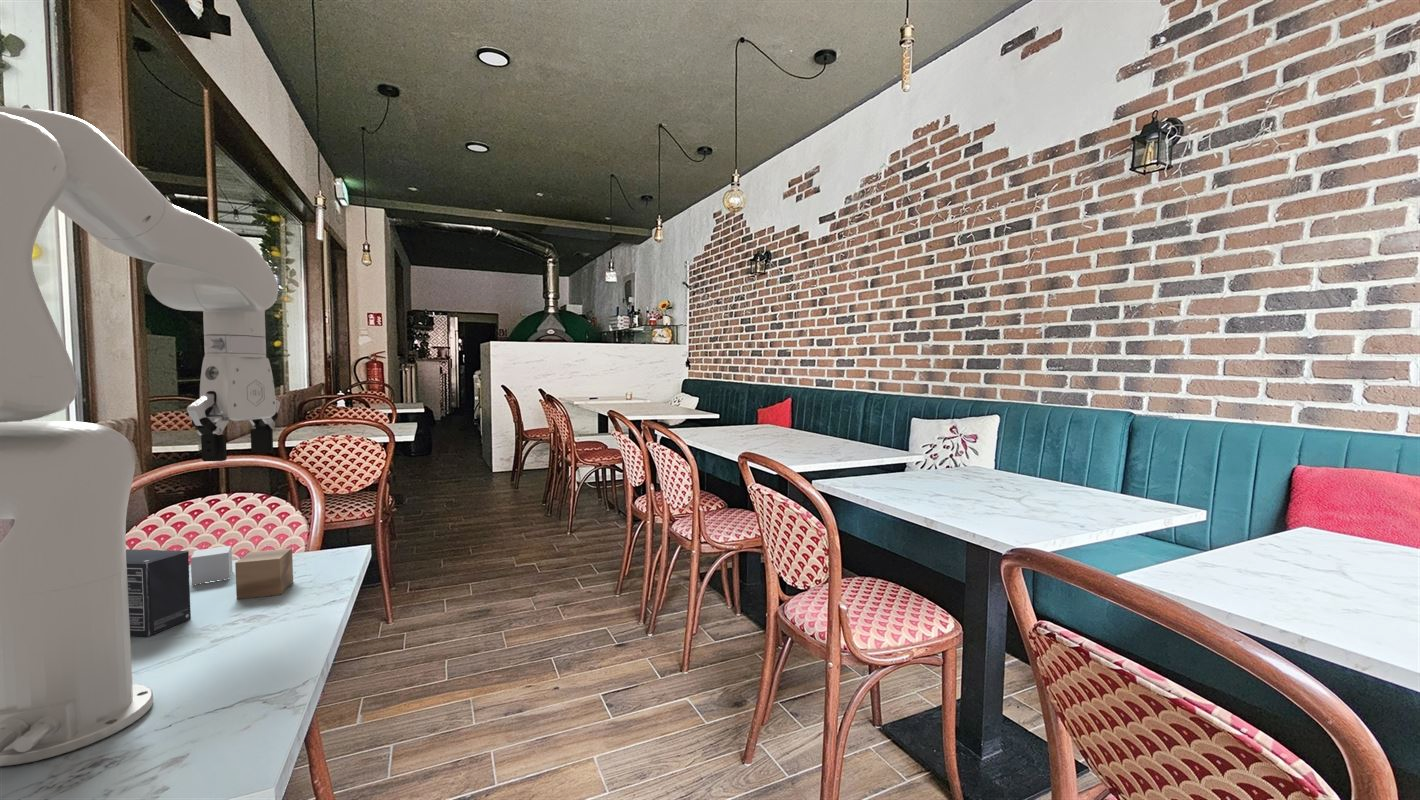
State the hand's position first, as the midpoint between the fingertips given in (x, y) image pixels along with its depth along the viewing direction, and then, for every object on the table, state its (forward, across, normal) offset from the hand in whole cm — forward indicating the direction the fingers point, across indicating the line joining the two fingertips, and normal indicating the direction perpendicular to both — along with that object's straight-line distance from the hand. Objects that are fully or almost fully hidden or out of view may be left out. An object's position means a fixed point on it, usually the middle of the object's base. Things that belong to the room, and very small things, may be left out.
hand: (239, 456), depth 92 cm
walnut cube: (+23, +4, 0) cm, 24 cm away
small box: (+24, -9, +8) cm, 26 cm away
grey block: (+23, +10, +13) cm, 29 cm away
